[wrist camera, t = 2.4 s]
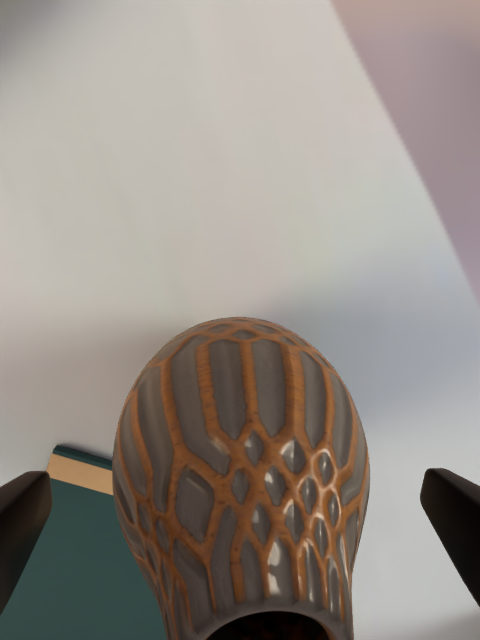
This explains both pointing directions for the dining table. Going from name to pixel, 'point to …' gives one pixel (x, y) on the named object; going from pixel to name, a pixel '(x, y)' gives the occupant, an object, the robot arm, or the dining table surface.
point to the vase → (243, 485)
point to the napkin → (81, 566)
